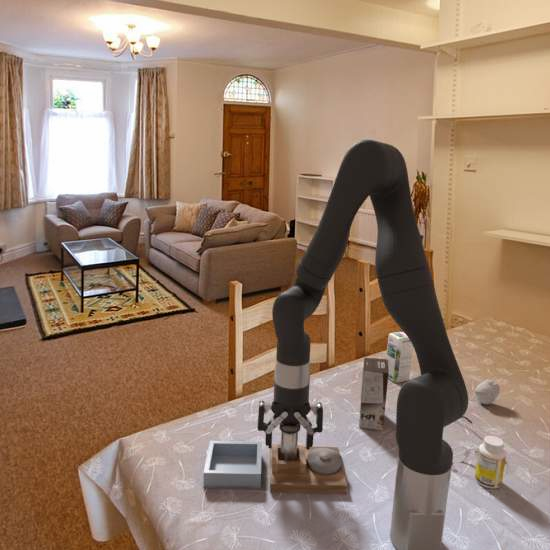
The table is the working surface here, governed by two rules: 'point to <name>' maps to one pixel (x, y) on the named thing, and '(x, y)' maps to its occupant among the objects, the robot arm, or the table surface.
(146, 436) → the table surface
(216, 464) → the tray
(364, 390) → the coffee box
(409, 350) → the syrup box
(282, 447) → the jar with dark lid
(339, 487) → the block
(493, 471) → the supplement bottle
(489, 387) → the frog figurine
